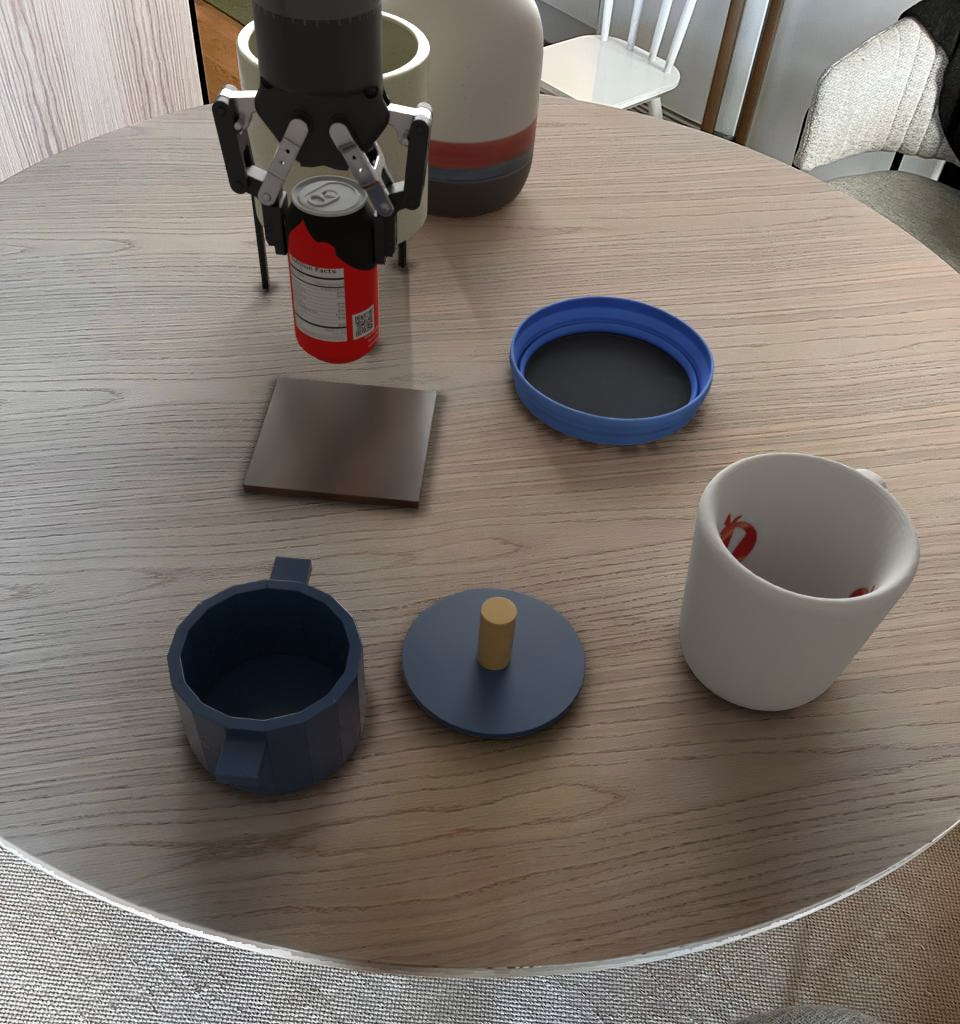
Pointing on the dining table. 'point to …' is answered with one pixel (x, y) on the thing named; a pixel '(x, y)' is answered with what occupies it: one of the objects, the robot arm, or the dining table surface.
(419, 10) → the vase
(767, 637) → the cup
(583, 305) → the bowl
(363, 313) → the beverage can
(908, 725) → the dining table surface
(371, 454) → the trivet
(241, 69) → the planter
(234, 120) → the robot arm
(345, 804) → the dining table surface
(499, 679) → the pot lid
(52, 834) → the dining table surface
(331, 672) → the pot
